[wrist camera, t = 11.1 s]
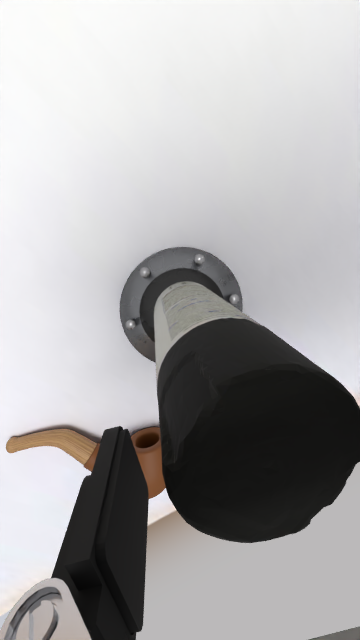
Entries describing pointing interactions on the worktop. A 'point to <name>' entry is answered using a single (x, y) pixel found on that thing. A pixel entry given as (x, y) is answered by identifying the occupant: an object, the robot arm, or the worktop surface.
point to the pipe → (87, 449)
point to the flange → (161, 275)
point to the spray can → (245, 421)
